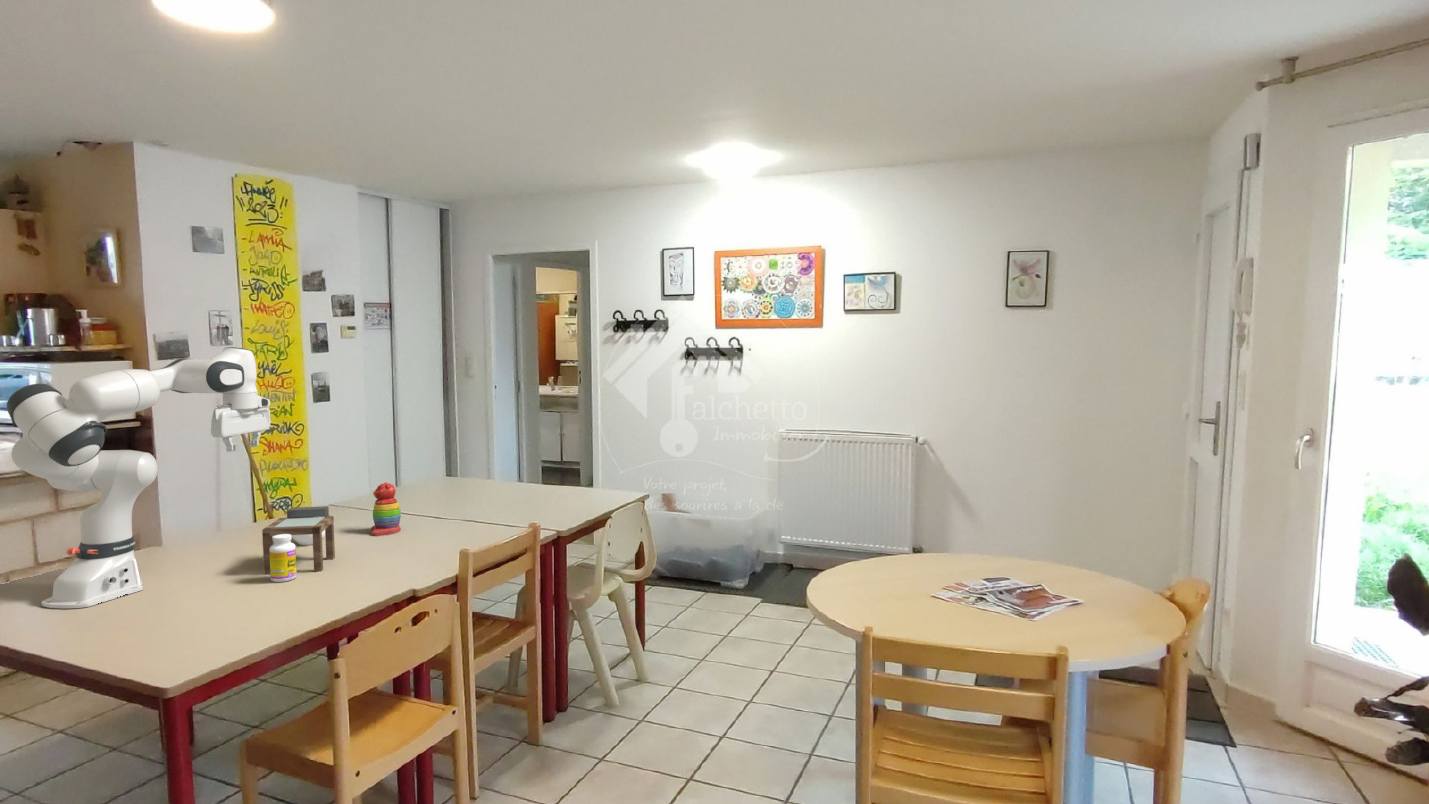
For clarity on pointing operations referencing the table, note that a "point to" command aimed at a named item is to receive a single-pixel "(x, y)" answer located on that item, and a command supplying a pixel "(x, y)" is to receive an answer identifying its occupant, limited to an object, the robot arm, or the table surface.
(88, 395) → the robot arm
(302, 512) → the trapdoor
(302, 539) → the lidded bowl
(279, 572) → the supplement bottle
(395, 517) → the stacking bear
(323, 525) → the miniature wooden table
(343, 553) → the table surface
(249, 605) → the table surface
